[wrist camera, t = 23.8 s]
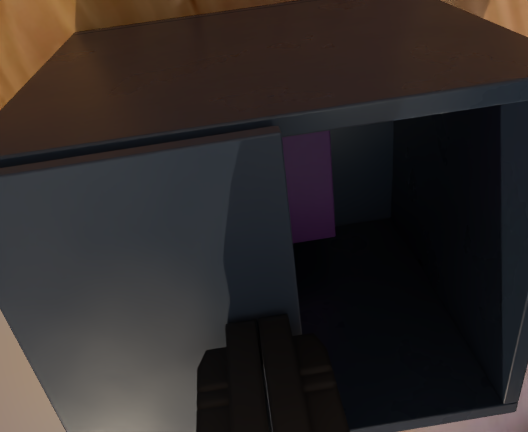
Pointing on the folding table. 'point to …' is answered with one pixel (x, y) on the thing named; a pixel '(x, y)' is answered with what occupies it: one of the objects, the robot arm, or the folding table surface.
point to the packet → (310, 185)
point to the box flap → (143, 271)
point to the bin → (345, 174)
